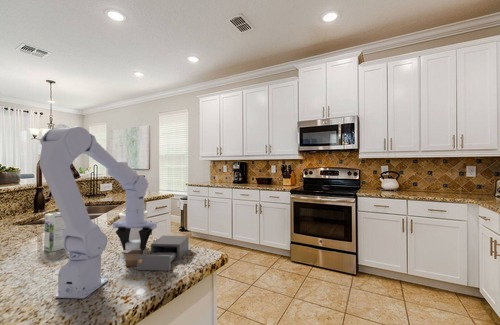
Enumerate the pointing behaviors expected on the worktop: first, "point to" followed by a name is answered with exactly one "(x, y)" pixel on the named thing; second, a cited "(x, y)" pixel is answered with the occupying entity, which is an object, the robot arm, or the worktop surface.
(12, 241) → the worktop surface
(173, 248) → the block
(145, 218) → the jar
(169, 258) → the grey drawer
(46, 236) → the syrup box
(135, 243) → the white dome cap
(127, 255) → the walnut block
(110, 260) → the worktop surface
